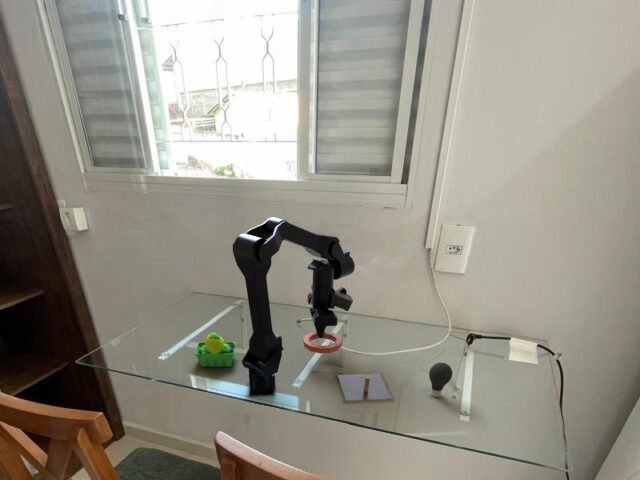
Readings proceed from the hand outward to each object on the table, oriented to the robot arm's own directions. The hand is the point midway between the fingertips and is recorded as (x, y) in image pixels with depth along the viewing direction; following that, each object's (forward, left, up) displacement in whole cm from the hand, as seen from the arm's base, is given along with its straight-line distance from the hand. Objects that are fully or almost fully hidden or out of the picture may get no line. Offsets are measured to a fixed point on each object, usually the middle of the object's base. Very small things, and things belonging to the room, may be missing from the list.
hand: (320, 336), depth 122 cm
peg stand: (+10, -17, -8) cm, 21 cm away
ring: (0, -5, 0) cm, 5 cm away
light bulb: (+28, -23, -8) cm, 37 cm away
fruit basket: (-31, -1, -8) cm, 32 cm away
